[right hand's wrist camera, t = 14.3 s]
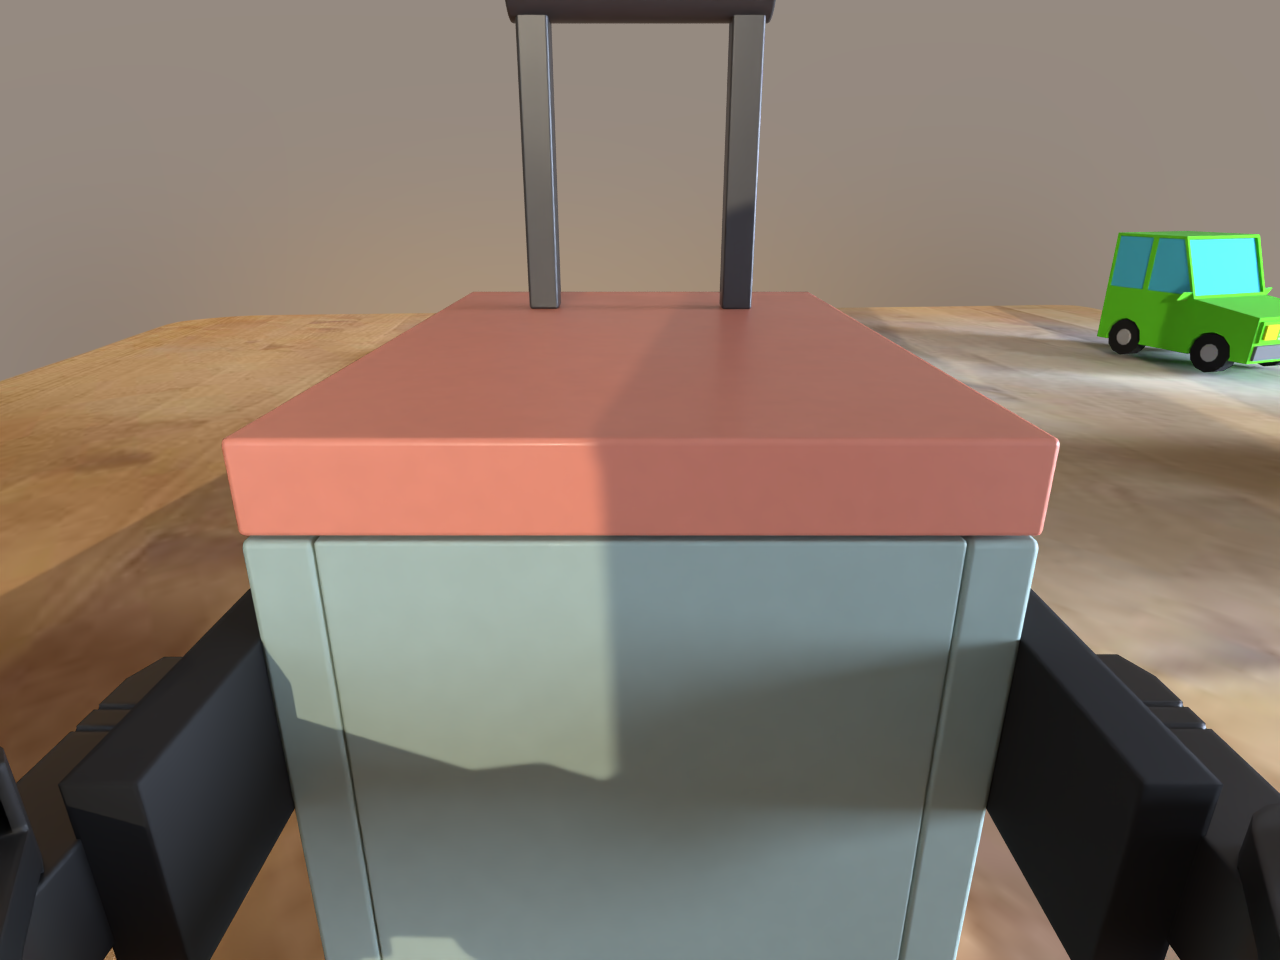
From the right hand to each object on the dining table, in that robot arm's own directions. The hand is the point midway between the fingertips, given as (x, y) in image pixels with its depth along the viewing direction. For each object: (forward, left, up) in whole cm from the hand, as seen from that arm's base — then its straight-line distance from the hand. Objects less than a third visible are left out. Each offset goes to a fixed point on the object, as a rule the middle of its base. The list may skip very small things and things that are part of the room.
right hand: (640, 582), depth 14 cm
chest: (+1, -3, -7) cm, 7 cm away
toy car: (-36, -60, -7) cm, 70 cm away
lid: (+1, -3, +3) cm, 4 cm away
